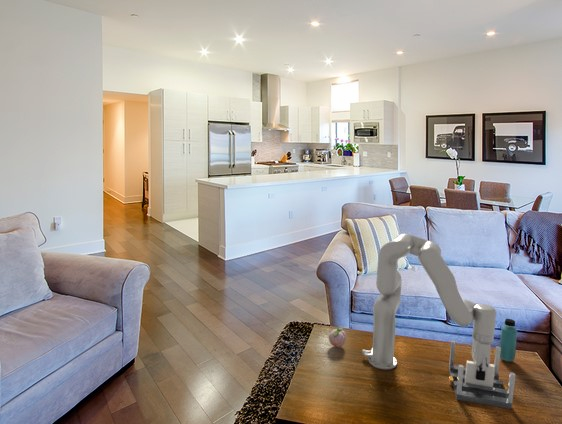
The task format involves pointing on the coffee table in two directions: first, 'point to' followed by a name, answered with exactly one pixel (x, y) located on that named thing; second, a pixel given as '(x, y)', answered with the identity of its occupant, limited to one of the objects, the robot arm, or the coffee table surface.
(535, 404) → the coffee table surface
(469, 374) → the block
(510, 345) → the beverage bottle
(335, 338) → the decorative fruit
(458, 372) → the rack
